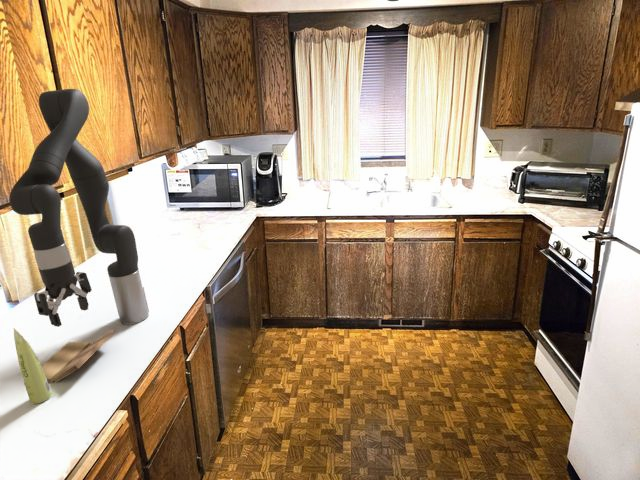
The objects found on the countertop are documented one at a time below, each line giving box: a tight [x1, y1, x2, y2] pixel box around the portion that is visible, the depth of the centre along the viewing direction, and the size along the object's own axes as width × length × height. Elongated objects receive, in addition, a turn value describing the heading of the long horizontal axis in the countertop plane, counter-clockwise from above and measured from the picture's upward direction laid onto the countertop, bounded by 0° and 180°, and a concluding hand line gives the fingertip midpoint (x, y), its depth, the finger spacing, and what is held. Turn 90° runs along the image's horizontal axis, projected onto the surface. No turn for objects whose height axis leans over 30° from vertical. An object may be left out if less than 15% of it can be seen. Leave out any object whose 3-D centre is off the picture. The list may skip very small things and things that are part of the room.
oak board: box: [41, 341, 91, 384], centre depth 129 cm, size 18×8×1 cm, turn 174°
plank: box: [53, 329, 115, 383], centre depth 127 cm, size 18×9×1 cm
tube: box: [13, 327, 53, 404], centre depth 111 cm, size 6×5×20 cm
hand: (71, 317), depth 119 cm, fingers open, 8 cm apart
